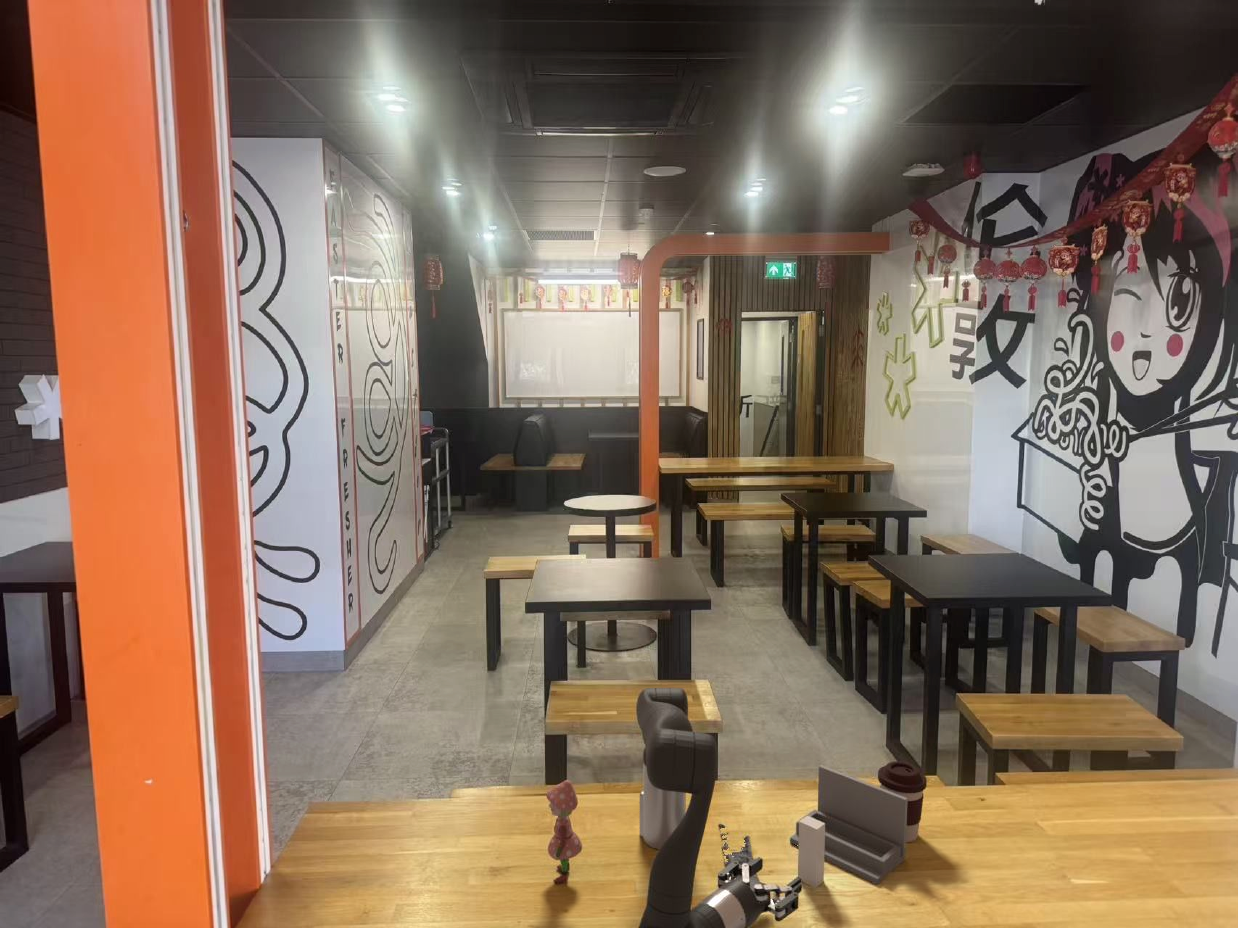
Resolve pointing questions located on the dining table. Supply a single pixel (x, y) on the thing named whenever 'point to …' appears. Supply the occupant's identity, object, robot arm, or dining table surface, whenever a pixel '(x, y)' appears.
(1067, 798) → the dining table surface
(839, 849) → the grey desk organizer
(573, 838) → the cartoon character
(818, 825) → the clay bar
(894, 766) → the coffee cup
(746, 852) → the driftwood
